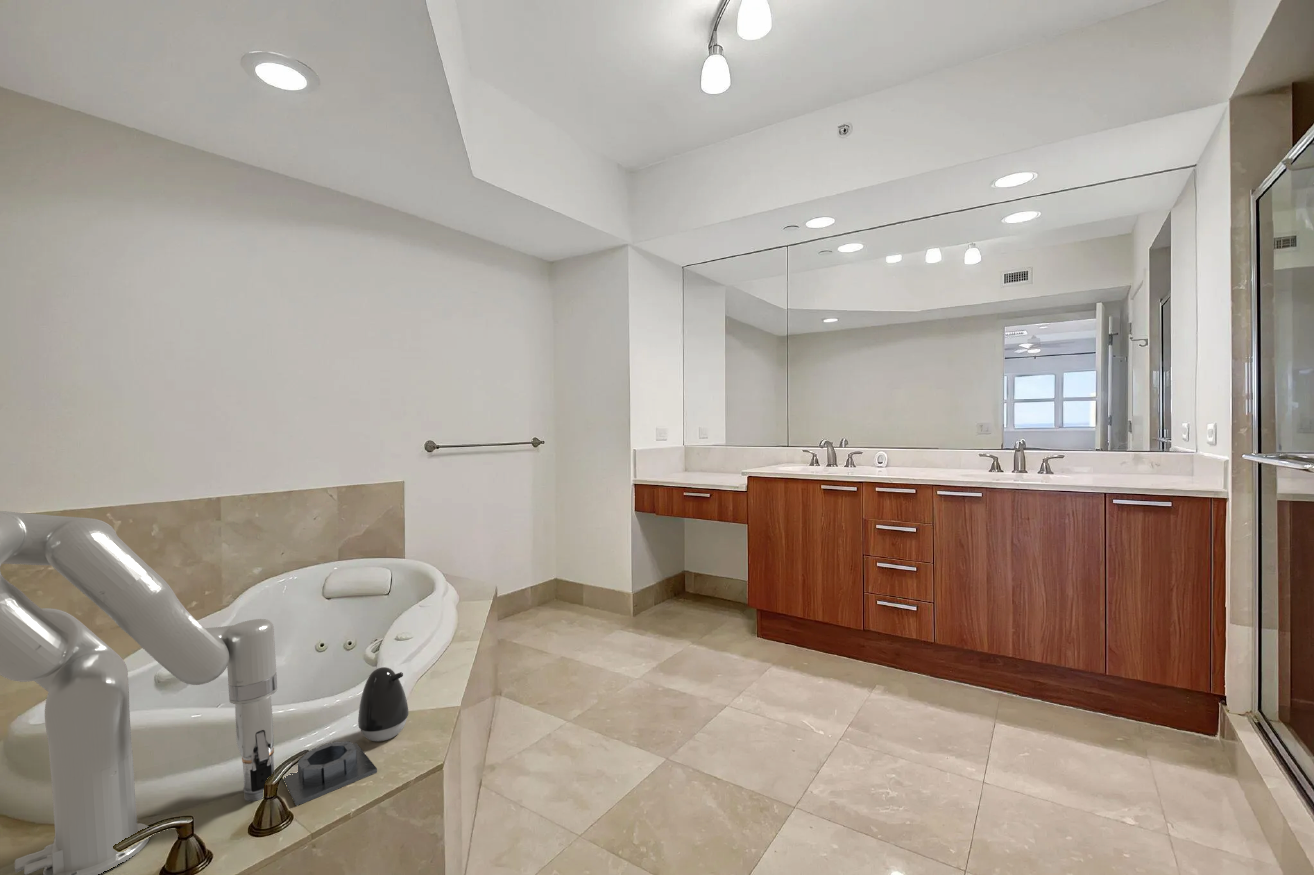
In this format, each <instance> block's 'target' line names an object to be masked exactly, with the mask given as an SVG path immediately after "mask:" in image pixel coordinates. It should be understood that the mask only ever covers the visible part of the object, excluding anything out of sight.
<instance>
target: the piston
mask: <svg viewBox="0 0 1314 875" xmlns="http://www.w3.org/2000/svg"><path fill="white" fill-rule="evenodd" d="M255 751H258V750H257V748H256V749H253V752H255ZM274 753H275V748H274V746H273V747H272V748H271V749H269V755H270V763H271V771H272V774H273V772H274V773H275V760H274V758H275V756H274ZM257 758H258V755H256V756H255V761H256V759H257ZM241 762H242V773H243V775H242V776H243V789H242V790H243V794H244V800H245V802H256V801H260V800H263V799H262V797H263V790H264V788H262V789H260V790H257V791H255V792H252V790H251V777H250V770H252V765H251V756H247V758H243V757H242V756H241Z"/></svg>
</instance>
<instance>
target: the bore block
mask: <svg viewBox="0 0 1314 875" xmlns="http://www.w3.org/2000/svg"><path fill="white" fill-rule="evenodd" d="M297 765H298V772H297V773H290V774H291V775H288V776H286V778H285V777H284V781H285V783H286V785H287V788H288V790H289V792H290V794H291V796H292V798H293V800H292V802H293V801H294V802H293V804H294V803H295V804H294V806H295V805H296V806H295V807H297V805H298V806H300V805H299V804H301V805H303V804H305V803H308V802H310V801H312V799H313V800H315V799H317V798H319V797H322V796H324V795H326V794H329V793H332V792H334V791H337V790H339V789H340V788H341V789H342V788H344V787H345V786H348V785H350V784H353V783H355V782H357V781H359V780H362V779H365V778H368V777H369V776H372V775H374V774H376V773H378V768H377V767H376V766H375V764H374V763H373V762H372V760H371V759H370V758H369V757H368V755H367V754H366V753H365V752H364V750H363V749H362V748H361V747H360V746H359V745H358V743H357V742H354V743H353V742H351V741H334V742H333V741H332V742H329V743H326V744H323V745H321V746H318V747H315V748H313V749H311V750H309V751H307V753H306V754H304V755H303V756H302V757H301V758H300V759H299V760H298V762H297ZM292 774H293V775H292ZM284 781H283V782H284ZM285 783H284V784H285ZM287 788H286V789H287ZM288 790H287V791H288ZM289 792H288V793H289ZM290 794H289V795H290ZM291 796H290V797H291ZM292 798H291V799H292ZM307 801H308V802H307Z"/></svg>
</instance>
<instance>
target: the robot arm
mask: <svg viewBox="0 0 1314 875" xmlns="http://www.w3.org/2000/svg"><path fill="white" fill-rule="evenodd" d="M3 564H8V565H27V566H28V565H29V566H30V565H31V566H51V567H52V568H53V569H54V570H56V572H57V573H58V574H60V575H61V576H62V577H63V578H65V579H66V581H68V582H69V583H70V584H71V585H73V587H75V588H76V589H78V590H79V591H80V592H81V593H82V594H83V595H85V596H86V598H87V599H89V600H90V601H92V603H94V605H96V606H97V607H98V608H99V609H101V611H103V612H104V613H105V614H106V615H107V616H108V617H109V618H111V619H112V620H113V622H114V623H115V624H116V625H117V627H119V628H120V629H121V630H122V631H124V633H126V634H127V635H128V636H130V637H131V638H132V639H133V640H134V641H135V643H137V644H138V645H139V646H140V647H141V648H142V650H144V651H145V652H146V653H147V654H148V655H149V656H151V658H153V659H154V661H156V662H157V663H158V664H159V665H161V666H162V667H163V668H164V669H165V670H166V671H168V672H169V673H170V674H171V675H172V676H173V677H175V678H176V679H177V680H179V681H180V682H182V683H184V684H186V685H190V686H200V685H205V684H207V683H208V684H209V683H211V682H213V681H214V680H216V679H218V678H219V677H220V676H221V675H222V674H223V673H224V672H225V670H226V669H227V670H226V671H227V682H228V684H227V686H228V701H229V704H232V705H235V706H234V714H235V716H234V717H235V743H236V746H237V748H238V751H239V753H240V756H241V758H242V757H243V758H247V756H251V765H252V770H250V777H251V790H252V792H255V791H257V790H260V789H262V788H264V784H265V781H266V780H267V778H268V777H269V776H271V774H272V771H271V763H270V755H269V749H271V748H272V747H273V748H274V744H275V742H274V741H275V739H274V738H275V734H274V717H273V716H274V715H273V706H272V705H273V704H272V695H274V694H275V693H276V692H278V679H277V678H278V677H277V676H278V675H277V662H276V660H277V659H276V646H275V645H276V644H275V643H276V642H275V629H274V624H273V622H272V621H271V620H269V619H264V618H263V619H262V618H256V619H250V620H246V621H241V622H239V623H236V624H234V625H226V626H216V627H215V626H214V627H206V628H205V627H204V626H203V625H202V624H201V623H200V622H199V621H198V620H197V619H196V618H195V617H194V616H193V615H192V614H191V613H190V612H189V611H188V610H187V609H186V608H185V606H184V605H183V604H182V602H181V601H180V599H179V598H178V597H177V594H176V593H175V592H174V590H173V589H172V588H171V586H170V585H169V583H168V582H167V581H166V580H165V579H164V578H163V577H162V576H161V575H159V573H157V572H156V571H155V570H154V569H153V568H152V567H151V566H150V565H149V564H147V563H146V562H145V560H143V558H141V557H140V556H139V555H138V554H137V553H136V552H134V551H133V549H131V547H130V546H129V545H127V543H125V542H124V541H123V540H122V539H121V538H120V537H119V536H118V534H117V531H116V530H115V529H114V527H113V526H112V525H110V524H109V523H107V522H105V521H103V520H101V519H97V518H91V517H78V516H77V517H76V516H64V515H62V516H61V515H51V514H39V513H26V512H15V511H3V510H0V567H1V566H2V565H3ZM128 673H129V672H128V667H127V664H126V662H125V661H124V659H123V658H122V657H121V656H120V654H118V653H117V651H115V650H114V649H113V648H111V647H110V646H109V645H108V644H107V643H106V642H105V641H104V640H102V639H101V638H100V637H99V636H98V635H96V634H95V633H94V632H93V631H92V630H91V629H90V628H88V627H87V626H86V625H85V624H84V623H83V622H82V621H80V619H78V618H77V617H75V616H74V615H72V614H71V613H68V612H67V611H64V610H61V609H58V608H52V607H51V608H50V607H47V608H45V607H43V608H41V607H40V606H39V605H37V604H36V603H35V601H34V602H33V601H32V600H31V599H30V598H29V597H28V596H27V595H26V594H25V593H24V592H23V590H21V589H19V588H18V587H17V586H15V585H14V584H12V583H11V582H10V581H8V580H7V579H6V578H5V577H4V576H3V574H2V572H1V570H0V676H1V677H3V678H4V679H8V680H10V681H13V682H20V683H21V682H22V683H23V682H25V683H26V682H34V683H36V684H38V685H39V686H40V687H41V688H43V689H44V690H46V691H47V696H46V700H45V704H44V724H45V731H46V737H47V744H48V757H49V769H50V778H51V790H52V805H53V808H52V809H53V819H54V820H53V821H54V833H55V834H54V838H53V843H51V844H48V845H46V846H45V847H44V849H41V850H39V851H36V852H33V853H28V854H26V855H24V856H21V857H18V858H15V860H14V872H15V874H16V873H17V874H18V873H19V872H23V871H24V875H29V874H33V873H34V872H37V871H39V870H41V869H43V872H42V873H43V875H98V874H100V875H102V874H104V873H105V872H104V871H107V870H108V869H110V868H111V867H114V866H116V865H118V864H119V863H122V862H124V863H125V862H126V860H127V861H128V860H130V859H131V858H133V857H134V856H135V855H137V854H138V853H139V852H140V851H141V850H142V849H143V848H144V847H145V846H146V845H147V843H148V842H149V840H150V838H148V839H146V840H144V841H142V842H139V843H138V844H137V845H134V846H133V847H131V848H129V849H127V850H126V851H124V852H117V851H115V850H114V849H113V846H114V845H115V844H118V843H119V842H121V841H122V840H124V839H125V838H128V837H130V836H131V835H133V834H135V833H137V832H138V831H140V830H142V829H145V828H147V827H149V826H148V825H147V824H144V823H138V816H137V801H136V800H137V799H136V787H135V772H134V771H135V770H134V757H133V756H134V755H133V747H132V746H133V742H132V732H131V728H132V727H131V715H130V714H131V711H130V686H129V674H128ZM256 748H257V750H258V751H255V752H253V749H256ZM256 755H258V758H257V759H256V761H255V756H256ZM132 856H133V857H132ZM129 858H130V859H129ZM122 864H123V863H122ZM118 866H119V865H118ZM116 867H117V866H116ZM103 872H104V873H103ZM107 872H108V871H107ZM101 873H102V874H101Z"/></svg>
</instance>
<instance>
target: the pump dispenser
mask: <svg viewBox="0 0 1314 875" xmlns="http://www.w3.org/2000/svg"><path fill="white" fill-rule="evenodd" d="M403 676H404V673H403V672H402V671H401V672H398V673H396V672H395V671H394V670H393V669H391V668H389V667H387V666H385V667H384V666H382V667H378V668H376V669H375V670H373V671H372V672H371V673H370V675H368V678H367V679H366V681H365V685H364V687H363V691H362V694H361V696H360V702H359V706H358V720H357V722H358V723H357V724H358V728H359V729H360V731H361V734H362V735H363V737H365V738H366V739H367V740H369V741H371V742H383V741H387V740H390V739H392V738H394V737H396V736H397V735H398V734H400V732H401V731H402V730H403V729H404V727H405V726H406V723H407V720H408V719H407V718H408V717H409V714H410V713H409V705H408V701H407V700H408V699H407V697H406V693H405V690H404V688H403V685H402V683H401V681H400V679H401V678H402V677H403Z"/></svg>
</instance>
